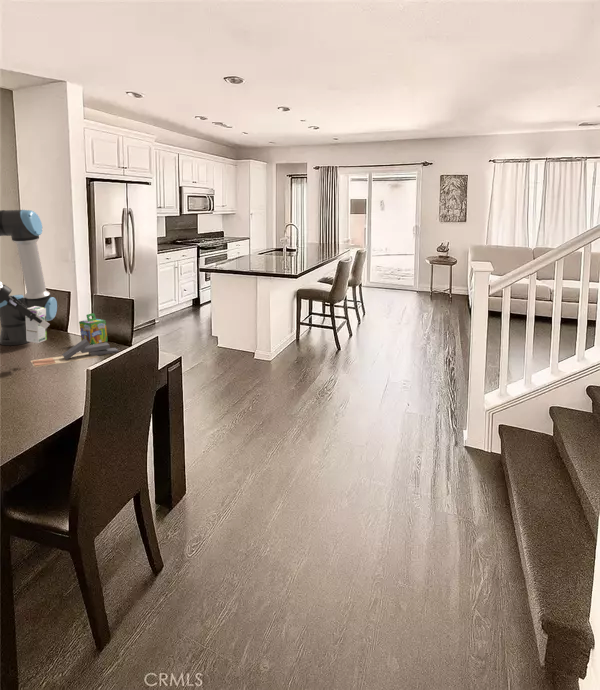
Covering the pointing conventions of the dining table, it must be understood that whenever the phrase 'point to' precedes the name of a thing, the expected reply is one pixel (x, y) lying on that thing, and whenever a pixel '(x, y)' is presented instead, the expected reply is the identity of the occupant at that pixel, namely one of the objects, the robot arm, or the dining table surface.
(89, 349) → the domino
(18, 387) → the dining table surface
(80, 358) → the birch board
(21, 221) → the robot arm
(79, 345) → the domino
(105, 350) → the domino
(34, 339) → the syrup box
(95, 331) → the chalk box
